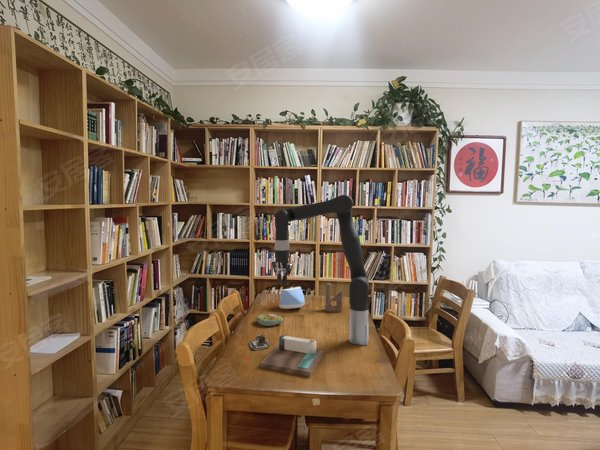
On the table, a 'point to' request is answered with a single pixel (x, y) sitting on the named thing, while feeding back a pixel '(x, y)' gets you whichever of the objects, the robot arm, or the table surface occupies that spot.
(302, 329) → the table surface
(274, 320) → the cell model
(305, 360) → the board
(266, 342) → the dark grey gadget
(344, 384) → the table surface
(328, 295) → the brown notched block
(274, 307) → the table surface
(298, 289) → the retro all-in-one computer
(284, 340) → the white rectangular block
